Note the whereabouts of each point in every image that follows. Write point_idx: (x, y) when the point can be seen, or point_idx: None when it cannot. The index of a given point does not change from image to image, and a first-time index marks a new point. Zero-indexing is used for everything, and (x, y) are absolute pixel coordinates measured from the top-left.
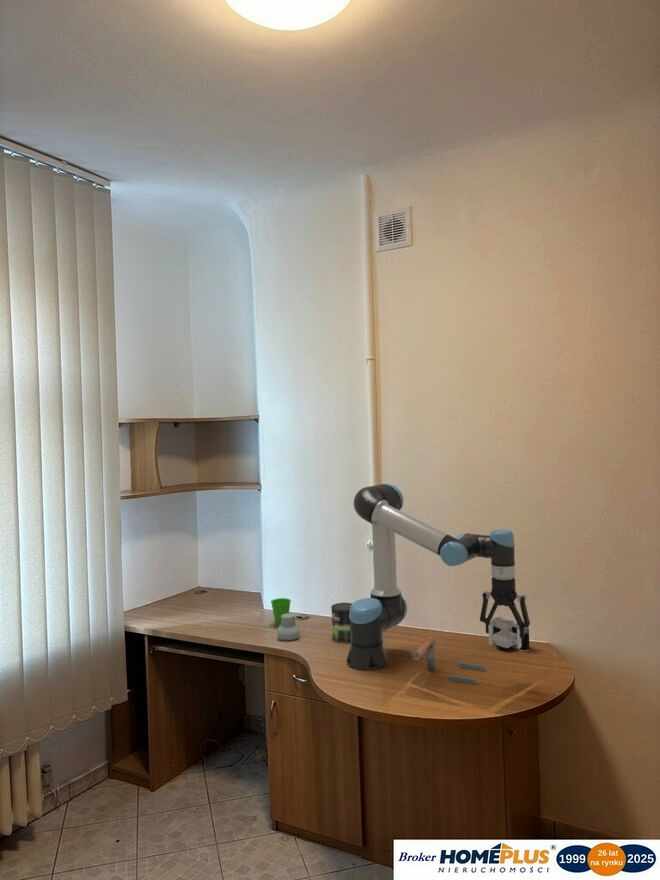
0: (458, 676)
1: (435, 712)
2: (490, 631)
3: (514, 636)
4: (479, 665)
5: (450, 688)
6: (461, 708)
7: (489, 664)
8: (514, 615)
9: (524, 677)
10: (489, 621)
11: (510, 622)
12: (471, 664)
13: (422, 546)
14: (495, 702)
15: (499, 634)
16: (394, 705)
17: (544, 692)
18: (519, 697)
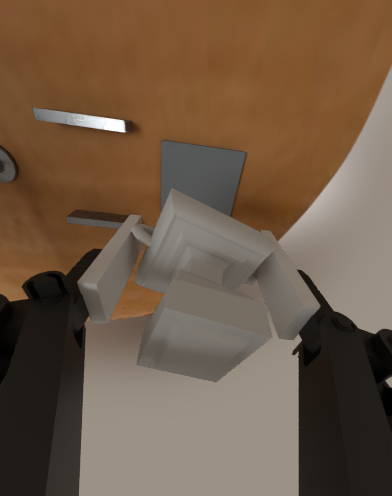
0: (90, 221)
1: (115, 308)
2: (120, 290)
3: (249, 276)
4: (105, 120)
5: (95, 239)
6: (143, 293)
7: (117, 9)
8: (308, 467)
9: (247, 118)
10: (84, 346)
11: (247, 351)
12: (78, 119)
13: None
14: None
15: (171, 279)
16: None
17: (284, 204)
18: None
